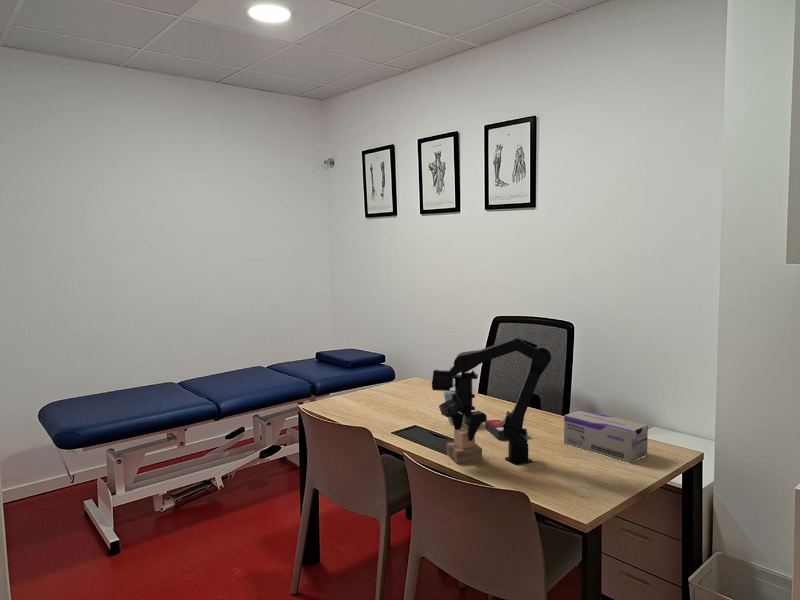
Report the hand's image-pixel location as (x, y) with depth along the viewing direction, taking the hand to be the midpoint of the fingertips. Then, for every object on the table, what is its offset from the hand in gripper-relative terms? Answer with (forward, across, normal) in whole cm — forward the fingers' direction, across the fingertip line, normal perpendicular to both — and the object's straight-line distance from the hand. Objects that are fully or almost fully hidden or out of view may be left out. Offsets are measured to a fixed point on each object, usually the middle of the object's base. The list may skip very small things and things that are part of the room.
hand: (464, 437), depth 196 cm
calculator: (+8, -14, +27) cm, 32 cm away
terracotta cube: (+3, 0, 0) cm, 3 cm away
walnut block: (+7, 0, 0) cm, 7 cm away
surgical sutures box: (+8, +17, +46) cm, 49 cm away
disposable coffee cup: (+7, -34, +18) cm, 39 cm away
